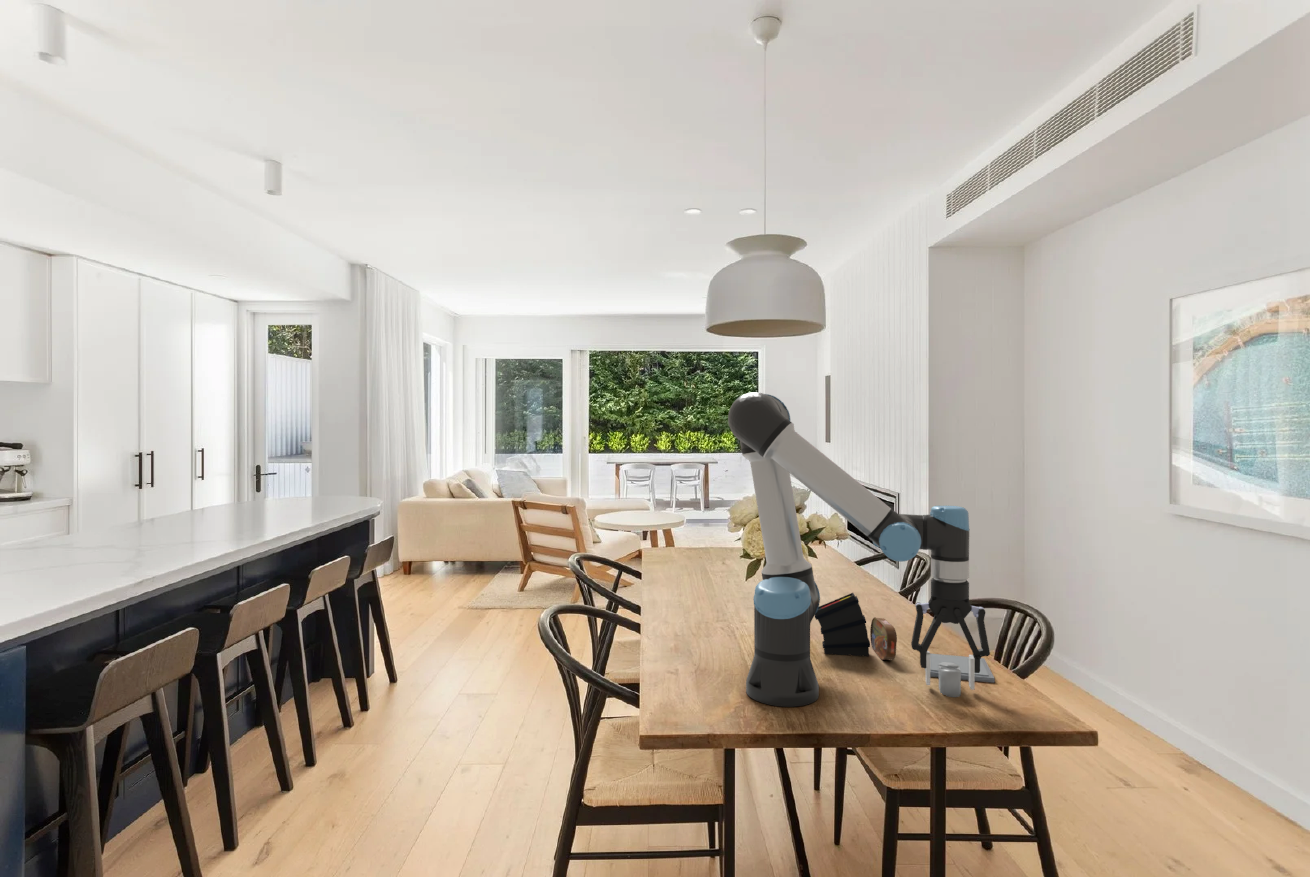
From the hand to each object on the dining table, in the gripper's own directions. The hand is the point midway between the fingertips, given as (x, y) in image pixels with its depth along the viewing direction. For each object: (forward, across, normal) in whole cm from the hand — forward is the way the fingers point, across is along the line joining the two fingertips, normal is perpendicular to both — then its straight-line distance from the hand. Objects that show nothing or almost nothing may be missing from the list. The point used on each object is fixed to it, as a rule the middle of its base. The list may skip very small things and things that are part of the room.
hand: (949, 684), depth 146 cm
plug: (+1, 0, -1) cm, 2 cm away
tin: (+2, +13, -21) cm, 25 cm away
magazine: (+2, +23, -19) cm, 30 cm away
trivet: (+1, -3, -15) cm, 15 cm away
